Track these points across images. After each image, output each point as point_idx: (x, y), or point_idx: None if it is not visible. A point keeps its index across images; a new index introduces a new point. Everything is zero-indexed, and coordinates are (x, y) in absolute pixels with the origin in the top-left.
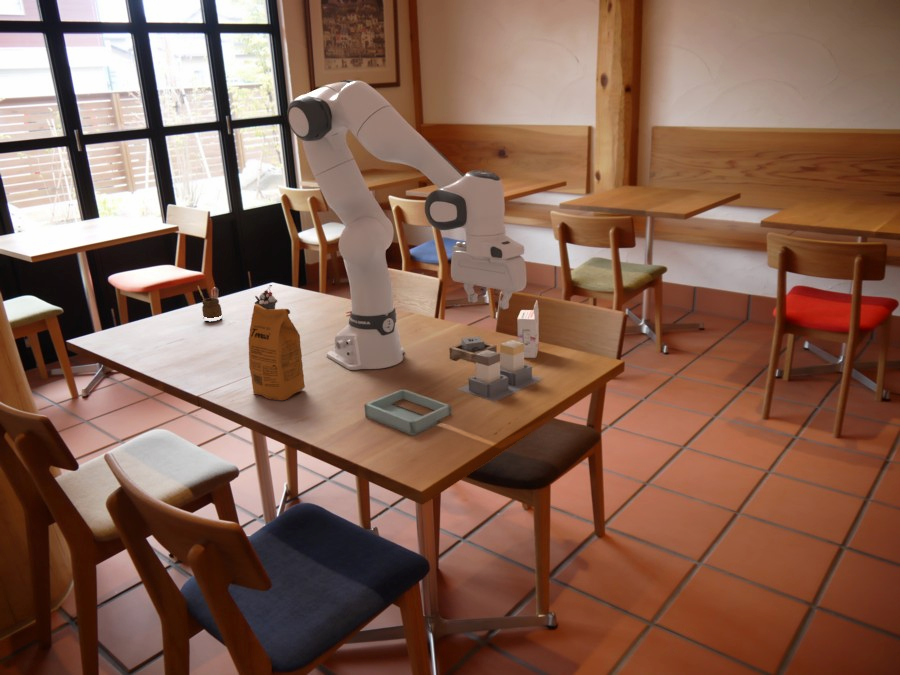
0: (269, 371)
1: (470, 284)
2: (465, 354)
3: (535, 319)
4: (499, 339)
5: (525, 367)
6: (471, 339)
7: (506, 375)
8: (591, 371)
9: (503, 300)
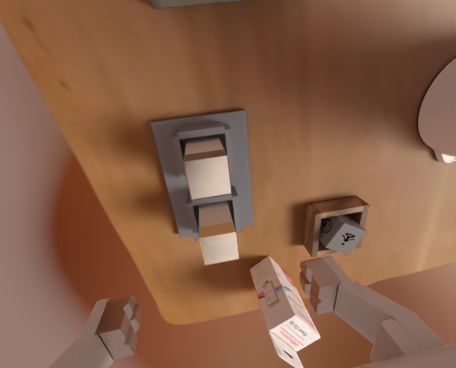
0: None
1: (388, 356)
2: (332, 208)
3: (268, 331)
4: None
5: None
6: (350, 239)
7: None
8: (169, 294)
9: (74, 347)
